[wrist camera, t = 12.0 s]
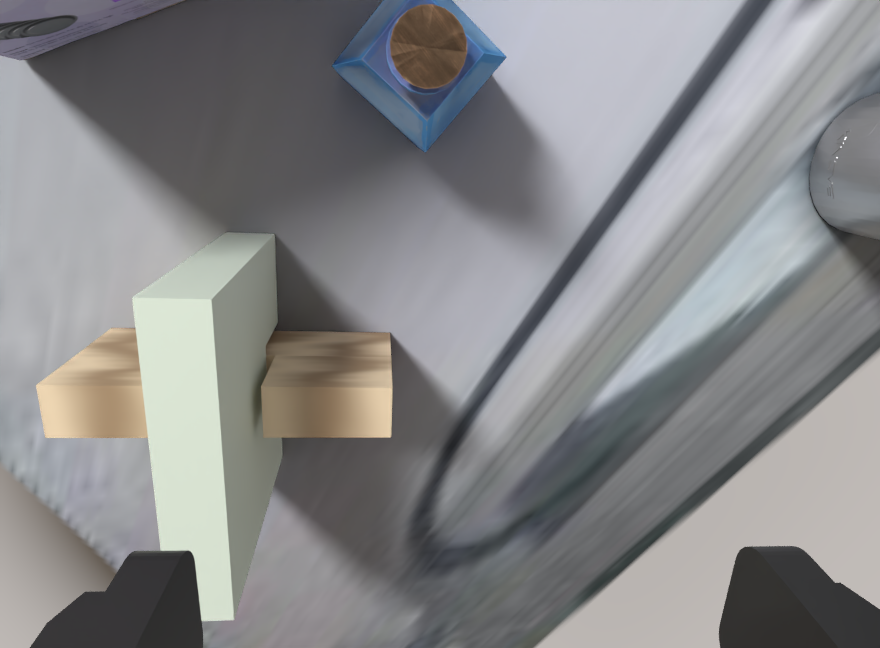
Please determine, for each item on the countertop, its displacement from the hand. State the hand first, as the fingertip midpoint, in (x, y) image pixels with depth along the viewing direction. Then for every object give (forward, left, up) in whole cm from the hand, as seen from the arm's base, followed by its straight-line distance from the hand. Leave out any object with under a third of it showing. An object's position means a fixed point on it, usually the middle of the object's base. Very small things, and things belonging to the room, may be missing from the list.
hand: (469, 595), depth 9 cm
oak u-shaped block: (+10, +8, -32) cm, 34 cm away
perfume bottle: (0, -10, -32) cm, 33 cm away
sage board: (+9, +8, -32) cm, 34 cm away
